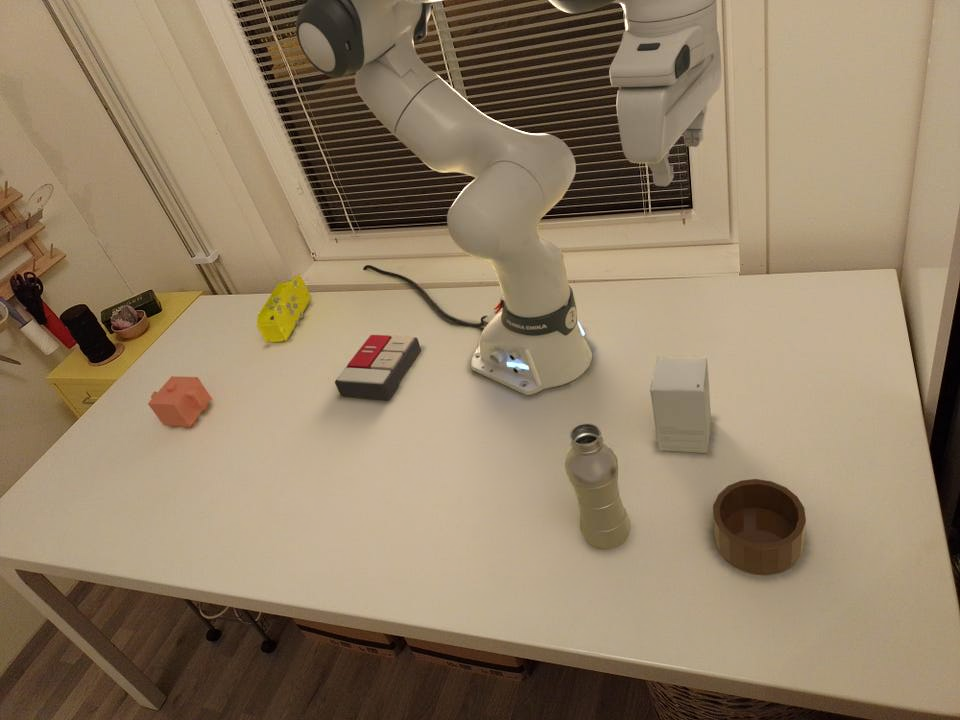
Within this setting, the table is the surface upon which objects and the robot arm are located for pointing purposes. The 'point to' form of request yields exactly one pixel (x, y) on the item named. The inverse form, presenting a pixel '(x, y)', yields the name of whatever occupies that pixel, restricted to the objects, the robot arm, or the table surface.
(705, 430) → the white packaging box
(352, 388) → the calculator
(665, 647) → the table surface
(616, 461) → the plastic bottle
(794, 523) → the cup
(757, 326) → the table surface
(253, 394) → the table surface
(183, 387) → the pink studded cube
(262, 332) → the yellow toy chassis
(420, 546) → the table surface
